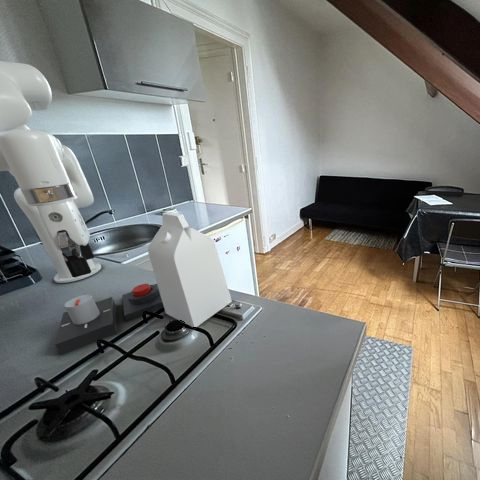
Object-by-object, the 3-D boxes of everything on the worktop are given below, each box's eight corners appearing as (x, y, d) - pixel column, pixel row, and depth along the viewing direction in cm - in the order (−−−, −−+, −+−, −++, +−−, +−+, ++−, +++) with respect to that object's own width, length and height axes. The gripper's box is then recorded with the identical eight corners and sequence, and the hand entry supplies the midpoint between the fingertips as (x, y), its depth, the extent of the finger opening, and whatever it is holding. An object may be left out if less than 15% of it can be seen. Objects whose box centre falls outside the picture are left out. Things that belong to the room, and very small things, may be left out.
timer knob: (74, 316, 64) (65, 298, 62) (100, 308, 66) (92, 290, 64) (72, 327, 60) (62, 309, 58) (99, 318, 62) (90, 300, 60)
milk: (232, 301, 71) (210, 209, 61) (194, 328, 62) (162, 225, 52) (203, 290, 77) (180, 205, 67) (165, 313, 68) (131, 218, 57)
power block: (124, 299, 75) (120, 289, 73) (163, 286, 80) (159, 276, 79) (126, 321, 66) (121, 309, 64) (170, 304, 71) (166, 293, 70)
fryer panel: (68, 322, 67) (63, 312, 65) (116, 305, 72) (111, 296, 71) (61, 355, 56) (54, 344, 55) (117, 333, 62) (112, 322, 60)
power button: (134, 292, 72) (131, 287, 71) (150, 287, 74) (148, 282, 74) (135, 299, 69) (132, 293, 68) (152, 293, 71) (150, 287, 71)
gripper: (68, 198, 50) (103, 275, 56) (78, 186, 63) (105, 250, 69) (12, 206, 46) (56, 288, 52) (35, 191, 59) (68, 259, 65)
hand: (84, 266), depth 61 cm, fingers open, 9 cm apart
